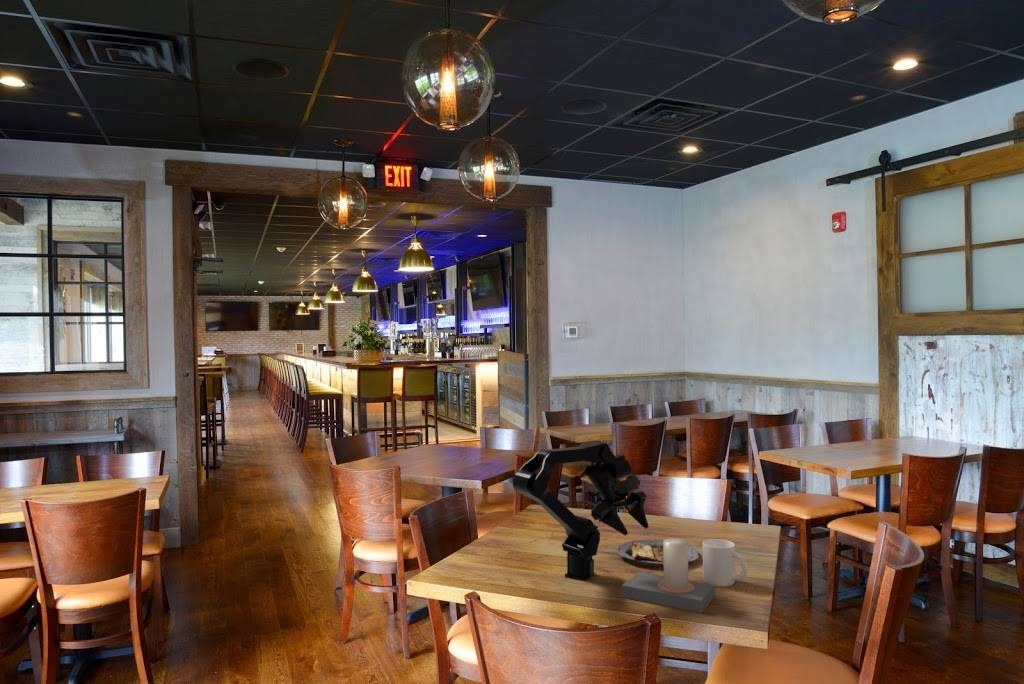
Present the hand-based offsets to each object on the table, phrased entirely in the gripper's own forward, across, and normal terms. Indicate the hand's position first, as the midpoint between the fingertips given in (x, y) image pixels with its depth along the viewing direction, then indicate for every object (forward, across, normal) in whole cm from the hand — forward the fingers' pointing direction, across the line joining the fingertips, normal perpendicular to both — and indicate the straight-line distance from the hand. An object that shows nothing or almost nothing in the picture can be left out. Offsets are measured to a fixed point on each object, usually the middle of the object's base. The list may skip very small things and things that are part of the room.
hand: (637, 531), depth 181 cm
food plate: (+4, +22, +16) cm, 28 cm away
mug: (+22, +16, -2) cm, 27 cm away
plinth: (+18, -4, +1) cm, 18 cm away
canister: (+17, -3, -2) cm, 18 cm away
